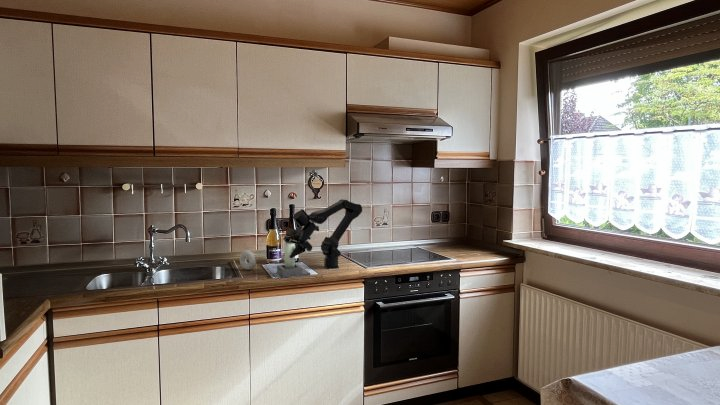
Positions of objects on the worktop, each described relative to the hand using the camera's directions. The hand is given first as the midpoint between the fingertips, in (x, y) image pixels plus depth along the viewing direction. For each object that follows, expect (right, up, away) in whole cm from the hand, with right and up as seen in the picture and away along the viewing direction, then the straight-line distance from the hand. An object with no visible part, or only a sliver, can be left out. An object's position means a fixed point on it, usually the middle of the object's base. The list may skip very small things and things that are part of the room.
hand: (287, 256), depth 220 cm
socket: (+2, -9, +3) cm, 10 cm away
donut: (-22, -8, +10) cm, 25 cm away
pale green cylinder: (+1, -7, +1) cm, 7 cm away
